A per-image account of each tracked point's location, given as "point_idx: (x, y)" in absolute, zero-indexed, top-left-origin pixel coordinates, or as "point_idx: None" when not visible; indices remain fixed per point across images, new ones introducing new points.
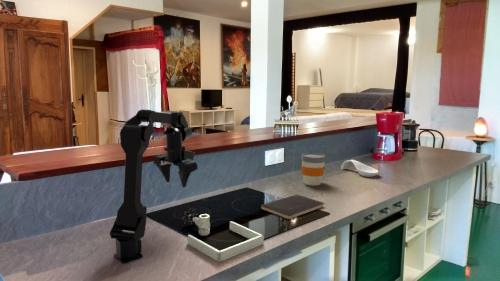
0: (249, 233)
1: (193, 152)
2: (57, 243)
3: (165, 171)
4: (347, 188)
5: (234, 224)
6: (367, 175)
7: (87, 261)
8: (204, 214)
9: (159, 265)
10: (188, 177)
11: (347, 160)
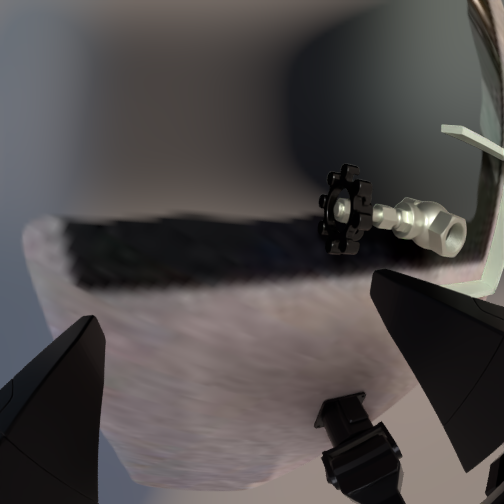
0: (501, 156)
1: None
2: (179, 464)
3: (73, 466)
4: None
5: (474, 140)
6: None
7: (292, 449)
8: (449, 226)
9: (407, 373)
10: (488, 305)
11: None
